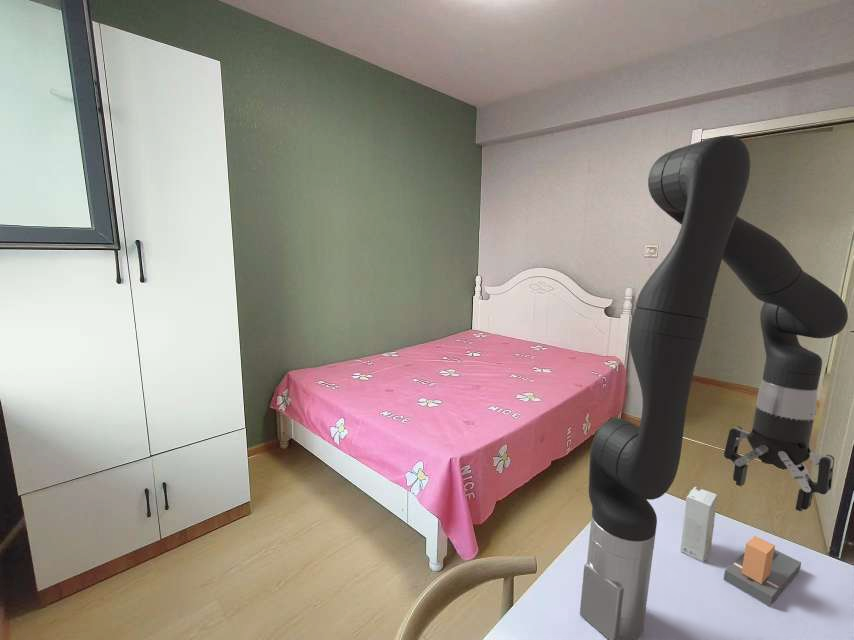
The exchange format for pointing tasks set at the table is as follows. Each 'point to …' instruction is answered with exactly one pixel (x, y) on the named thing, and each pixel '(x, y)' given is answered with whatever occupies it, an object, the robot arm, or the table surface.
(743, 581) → the fader console
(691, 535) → the skincare box
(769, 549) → the fader tab
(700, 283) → the robot arm
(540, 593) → the table surface
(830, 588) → the table surface
